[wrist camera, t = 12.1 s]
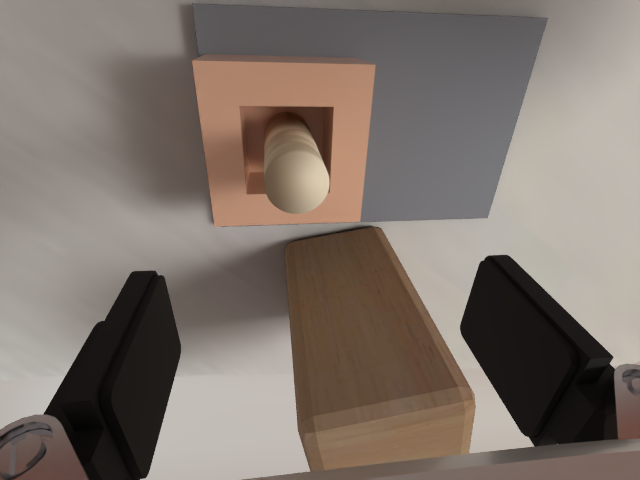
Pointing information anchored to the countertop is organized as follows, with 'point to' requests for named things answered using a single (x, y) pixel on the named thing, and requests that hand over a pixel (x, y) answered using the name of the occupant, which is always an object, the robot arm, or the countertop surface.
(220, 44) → the charcoal mat
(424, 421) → the wooden block
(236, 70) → the terracotta box
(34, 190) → the countertop surface
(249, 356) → the countertop surface
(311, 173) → the birch dowel
